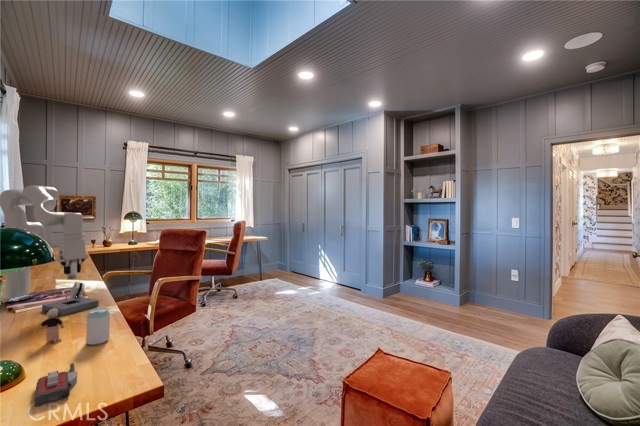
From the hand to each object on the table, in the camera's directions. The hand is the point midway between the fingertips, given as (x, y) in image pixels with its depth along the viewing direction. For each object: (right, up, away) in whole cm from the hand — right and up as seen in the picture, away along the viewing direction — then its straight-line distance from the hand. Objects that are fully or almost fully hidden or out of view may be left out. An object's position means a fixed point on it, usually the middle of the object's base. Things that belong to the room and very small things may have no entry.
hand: (72, 272), depth 147 cm
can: (+40, -19, -36) cm, 57 cm away
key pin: (0, -3, 0) cm, 3 cm away
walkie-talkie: (+50, -20, -63) cm, 83 cm away
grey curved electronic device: (-12, -18, +16) cm, 27 cm away
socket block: (-1, -18, 0) cm, 18 cm away
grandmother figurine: (+24, -19, -37) cm, 48 cm away
